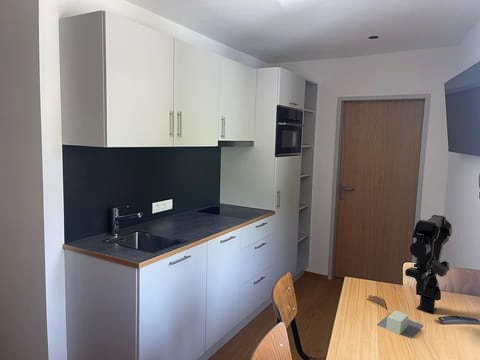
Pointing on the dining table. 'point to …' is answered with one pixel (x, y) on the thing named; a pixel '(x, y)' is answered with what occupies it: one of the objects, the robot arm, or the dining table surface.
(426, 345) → the dining table surface
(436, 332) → the dining table surface
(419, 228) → the robot arm
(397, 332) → the sage block
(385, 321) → the rubber mat
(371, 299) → the shard
